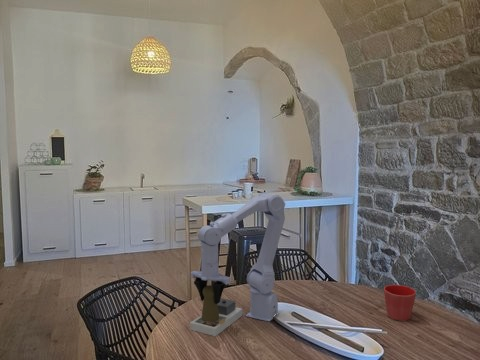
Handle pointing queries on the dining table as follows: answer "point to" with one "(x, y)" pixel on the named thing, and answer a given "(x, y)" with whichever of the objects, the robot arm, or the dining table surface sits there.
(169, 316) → the dining table surface
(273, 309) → the robot arm
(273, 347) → the dining table surface
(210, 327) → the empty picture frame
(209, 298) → the brown pear
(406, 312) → the flower pot
